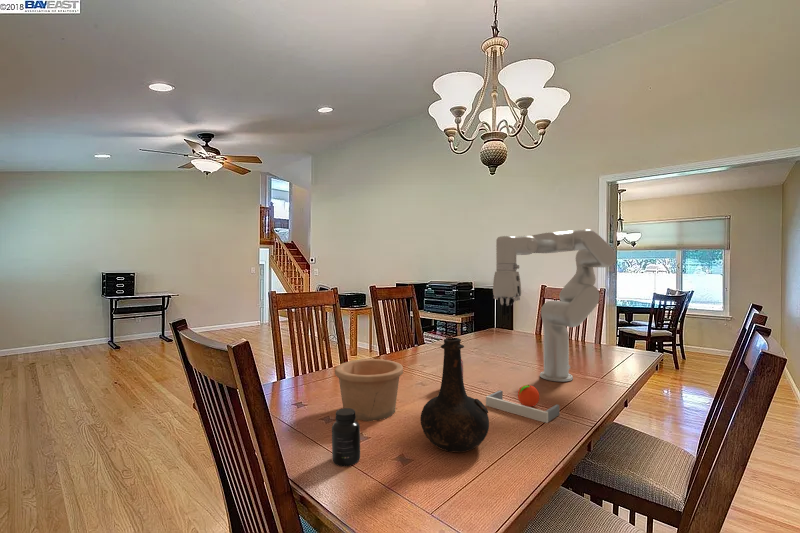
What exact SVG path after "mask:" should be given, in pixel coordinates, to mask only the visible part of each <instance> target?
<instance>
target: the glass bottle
mask: <svg viewBox="0 0 800 533" xmlns="http://www.w3.org/2000/svg"><path fill="white" fill-rule="evenodd" d="M461 341H462V339H461V338H459V337H446V338H444V339H443V344H441V345H440V348H441V349H443V364H442V365H443V367H442V376H441V383H440V388H439V393H438V394H437V395H436V396H435V397H433V398H431V399H429V400H428V401H427V402H426V403H425V405H424V406H423V407H422V410H421V413H420V421H419V422H420V425H421V429H422V432H423V434H424V435H425V437H426V438H427V439H428V441H429V442H430V443H431V444H432V445H434V446H435V447H437V448H438V449H441V450H443V451H446V452H451V453H463V452H469V451H472V450H474V449H475V448H476V447H479V446H480V445H481V444H482V442H483V441H484V440H485V438H486V437H487V435H488V432H489V427H490V419H489V410H488V409H487V406H486V404H483V403H482V401H481V400H480V399H478V398H473V397H471V396H468V394H467V393H466V389H465V385H464V383H465V382H464V374H463V375H462V366H461V359H462V354H461V353H462V352H461V351H462V350H461V349H464V348H465V346H464V344H461Z"/></svg>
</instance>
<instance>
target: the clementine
mask: <svg viewBox="0 0 800 533" xmlns="http://www.w3.org/2000/svg"><path fill="white" fill-rule="evenodd" d="M517 399H518V401H519V403H520V405H524V406H527V407H531V408H533V407H534V406H536V405H537V404H538V403H539V402H540V393H539V390H538V389H537V388H536V387H535V386H533V385H531V384H525V385H522V386H521V387H520V388H519V389H518V391H517Z"/></svg>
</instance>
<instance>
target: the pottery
mask: <svg viewBox="0 0 800 533" xmlns="http://www.w3.org/2000/svg"><path fill="white" fill-rule="evenodd" d="M403 373H404V366H403V364H401V363H399V362H397V361H393V360H390V359H389V360H387V359H381V358H380V359H379V358H367V359H366V358H364V359H356V360H350V361H346V362H343V363H340V364H338V365H336V367H335V369H334V374H335V376H336V377H337V378H338V380H339V382H338V383H339V389H340V397H341V402H342V403H341V404H342V409H343V408H351V409H354V410H355V416H356V421H358V420H363V421H362V422H374V421H373V420H377V421H381V420H385V419H387V417H388V418H390V417H392V416H393V415H394V414H395V413H396V407H397V400H398V399H397V397H398V391H399V390H398V389H399V383H400V377H401V375H403ZM389 416H390V417H389ZM384 418H385V419H384ZM380 419H381V420H380Z"/></svg>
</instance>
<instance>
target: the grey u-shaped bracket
mask: <svg viewBox="0 0 800 533" xmlns="http://www.w3.org/2000/svg"><path fill="white" fill-rule="evenodd" d="M503 393H504V392H503V390H500V389H499V390H498V391H496V392H495V391H494V392H493V393H491V394H489V395H486V396H485V407H489V408H493V409H498V410H500V411H504V412H507V413H510V414H513V415H514V414H515V415H518V416H522V417H523V418H524V417H525V418H527V419H531V420H535V421H538V422H542V423H546V424H548V423H549V422H551V421H553V419H555V418H557V417H558V416H560V404H555V405H553V406H551V407H550V408H548V409H547V410H542V409H538V408H534V407H527V406H524V405H523V404H521V403H517V402H512V401H509V400H504V399H503V397H504V396H503Z"/></svg>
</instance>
